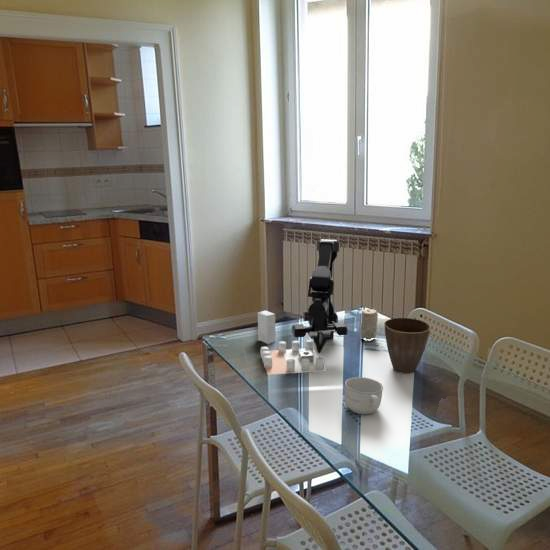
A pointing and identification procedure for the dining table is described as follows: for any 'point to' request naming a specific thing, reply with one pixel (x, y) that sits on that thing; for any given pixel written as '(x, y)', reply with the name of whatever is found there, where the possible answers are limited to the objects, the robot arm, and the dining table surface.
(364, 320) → the beige upright cylinder
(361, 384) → the teacup
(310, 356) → the nut
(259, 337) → the skincare box
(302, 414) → the dining table surface
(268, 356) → the board
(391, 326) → the plant pot
